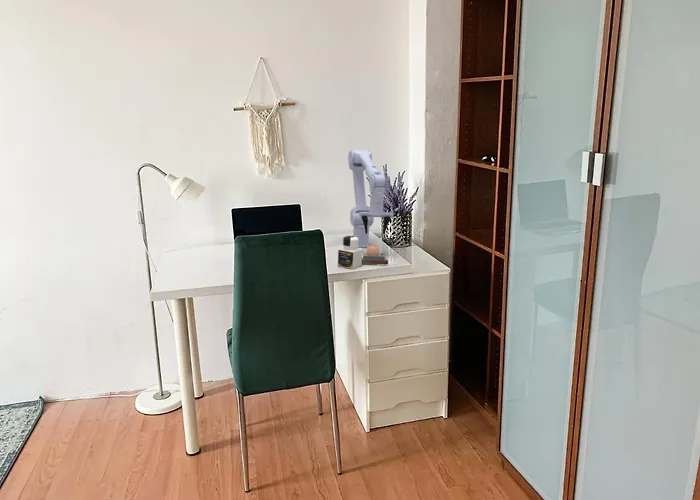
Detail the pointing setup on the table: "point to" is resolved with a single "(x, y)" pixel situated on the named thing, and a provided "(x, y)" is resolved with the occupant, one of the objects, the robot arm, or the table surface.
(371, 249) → the terracotta jar
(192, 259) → the table surface
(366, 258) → the plate
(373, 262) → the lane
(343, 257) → the medicine bottle
